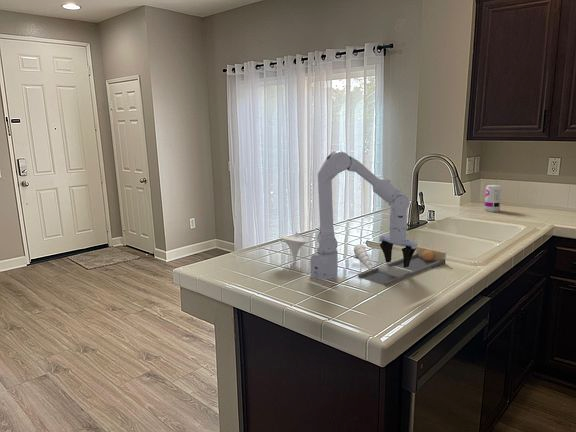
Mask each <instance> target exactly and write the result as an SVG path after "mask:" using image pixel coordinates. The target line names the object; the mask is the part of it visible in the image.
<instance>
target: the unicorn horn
mask: <svg viewBox="0 0 576 432" xmlns="http://www.w3.org/2000/svg"><path fill="white" fill-rule="evenodd" d="M353 253H354V255H355V256H356V257H357V258H358V259H359V260H360V261H361V262H362V264H363V265H364V266H365V267H367V269H369V270H372V269H374V268H373V265H372V262H371V259H370V258H369V255H368V252H367V250H366V247H365V246H364V244H361V243H360V244H356V245H355V246H354V247H353Z"/></svg>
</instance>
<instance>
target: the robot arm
mask: <svg viewBox="0 0 576 432" xmlns="http://www.w3.org/2000/svg"><path fill="white" fill-rule="evenodd" d="M345 171H348V172H353V173H356V175H359V176H360V177H361V178H363V179H364V180H365V181H366V182H367V183H369V184H370V185H371V187H372V192H373V193H375V195H377V196H378V197H380V198H381V199H382V200H383V201H385V202H386V203H388V206H389V207H390V212H389V213H390V214H389V236H388V235H380V236H379V241H378V242H380V243H379V247H380V248H381V250H382V253H383V256H384V260H385V263H386V264H388V263H391V262H392V254H393V253H392V252H393V247H394V245H396V246H401V247H403V248H401V251H402V257H403V258H404V262H403V265H404V267H405V268H406V267H409V264H410V260H411V258H412V255H413V254H415V253H416V248H417V246H418V242H415V241H413V240H410V239H408V238H407V230H408V229H407V224H408V221H407V218H408V215H407V214H408V213H407V212H408V208H409V207H410V204H411V203H410V200H409V197H408V196H407V195H405V194H403V193H402V192H401V191H402V190H401V189H400V188H396V187H395V186H394V185H393V184H392V183H391V180H390V179H388V178H387V179H386V178H384V177H381V178H378V177H377V175H375V174H374V173H373V172H372V171H371V170H369V169H368V167H366V166H365V165H364V164H363V163H362V162H360V161H359V160H357V159H355V158H354V157H353V156H351V155H348V153H346V152H344V151H342V150H334V151H332V152H331V153H330V154H329V155H328V156H326V158H325V160H324V162H323V164H322V165H321V167H320V169H319V171H318V172H317V184H318V185H317V191H318V209H319V210H318V211H319V214H318V215H319V232H318V235H317V238H316V239H317V243H318V247H317V249H316V252H315V254H313V255H311V256H310V274H308V275H309V276H311V277H314V278H317V279H320V280H322V281H326V280H330V279H333V278H335V277H338V276H341V275H343V272H340V271H339V270H338V268H339V266H338V265H339V263H338V253H339V252H338V244H339V243H338V240H337V239H336V237H335V227H334V214H333V213H334V212H333V211H334V210H333V208H334V207H333V185H332V184H333V183H332V181H333V179H334V178H335V177H336V176H338V175H339V174H341V173H342V172H345Z"/></svg>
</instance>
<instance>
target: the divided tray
mask: <svg viewBox="0 0 576 432" xmlns="http://www.w3.org/2000/svg"><path fill="white" fill-rule="evenodd" d="M425 251H431V252H432V253H433V259H432V260H431V261H425V260H424V259H423V257H422V254H423V252H425ZM446 255H447V252H446V251H443V250H437V249H433V248H429V247H423V246H419V245H417V248H416V250H415V253H414V254H413V255H412V258H411V260H410V264H409V267H406V268H405V267H404V265H403V262H404V258H400V259H397V260H394V261H391V262H388V263H386V264H383V263H382V264H381V265H379V266H378V267H375V268H373V269H372V270H370V269H369V270H366V271H363V272H361V273H357V274H358V278H360V279H363V280H365V281H366V280H367V281H370V282H373V283H376V284H379V285H383V286H385V287H386V286H390V285H393V284H395V283H397V282H400V281H401V280H402V281H403V280H404V279H407V278H410V277H412V276H414V275H418V274H419V273H422V272H424V271H427V270H430V269H435V268H437V267H440V266H442V265H445V264H446V257H447V256H446Z"/></svg>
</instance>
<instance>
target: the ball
mask: <svg viewBox="0 0 576 432" xmlns="http://www.w3.org/2000/svg"><path fill="white" fill-rule="evenodd" d="M422 257H423V259H424V260H425V261H431V260H432V259H433V253H432V252H431V251H425V252H423V254H422Z"/></svg>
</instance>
